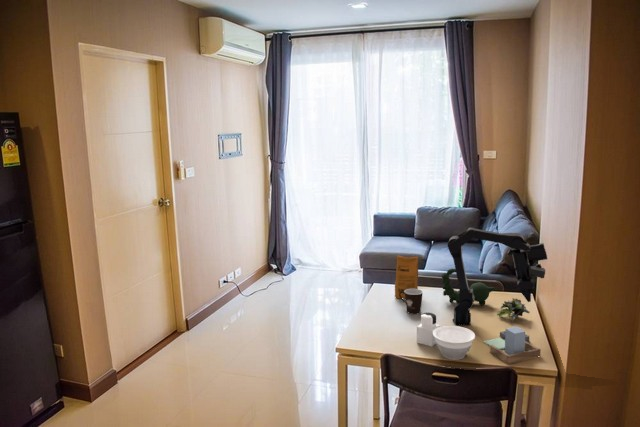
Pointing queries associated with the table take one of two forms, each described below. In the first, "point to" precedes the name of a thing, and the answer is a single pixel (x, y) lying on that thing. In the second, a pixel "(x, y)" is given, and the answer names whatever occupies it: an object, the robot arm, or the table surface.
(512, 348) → the block
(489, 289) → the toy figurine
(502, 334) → the trap tray
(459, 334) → the bowl
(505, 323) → the table surface
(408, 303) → the coffee mug
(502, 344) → the pad
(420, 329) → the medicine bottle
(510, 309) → the green leafy cluster
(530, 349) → the brown wooden tray
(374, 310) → the table surface
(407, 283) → the coffee package
